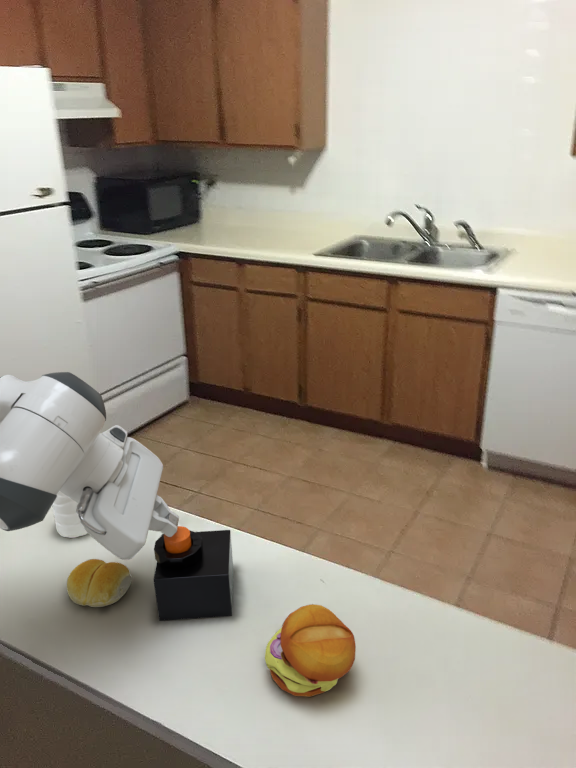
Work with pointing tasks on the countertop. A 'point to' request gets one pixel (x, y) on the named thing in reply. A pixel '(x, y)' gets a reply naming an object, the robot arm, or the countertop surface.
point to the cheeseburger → (310, 651)
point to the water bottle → (67, 517)
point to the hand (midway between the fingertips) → (175, 527)
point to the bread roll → (98, 583)
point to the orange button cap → (178, 541)
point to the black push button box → (195, 577)
